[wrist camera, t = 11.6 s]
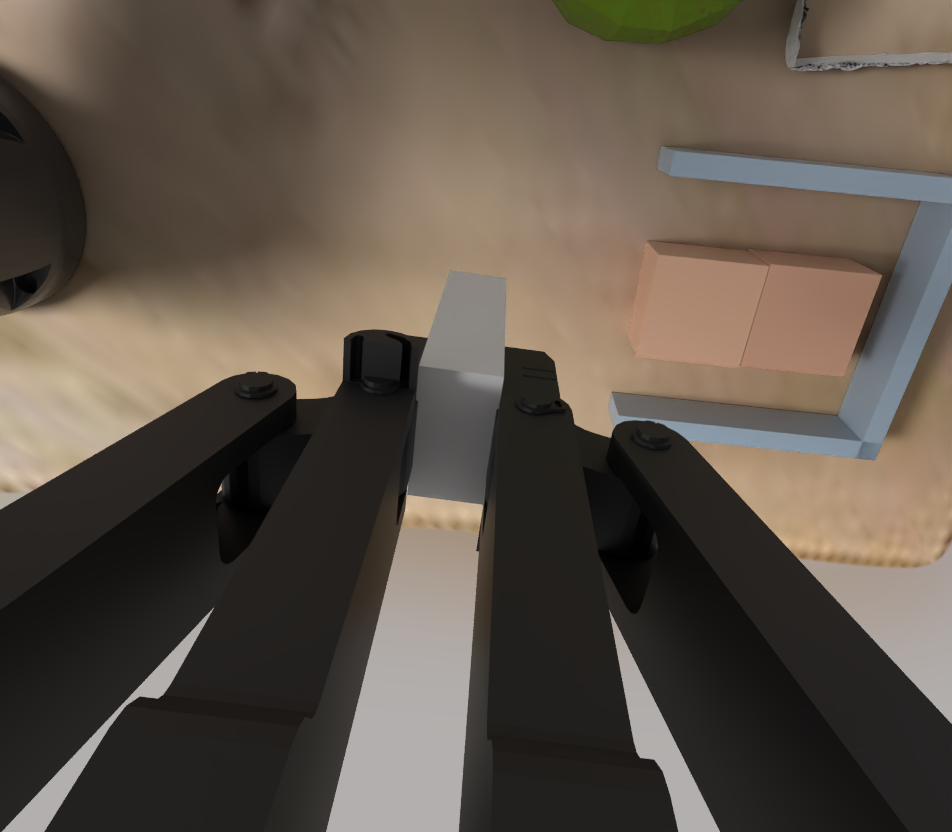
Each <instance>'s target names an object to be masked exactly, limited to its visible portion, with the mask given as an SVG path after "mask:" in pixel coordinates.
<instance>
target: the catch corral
mask: <svg viewBox="0 0 952 832" xmlns="http://www.w3.org/2000/svg"><path fill="white" fill-rule="evenodd" d="M657 169H658V170H660V171H661V172H663V173H665V174H667V175H669V176H676V177H686V178H696V179H706V180H716V181H726V182H736V183H746V184H756V185H766V186H777V187H787V188H797V189H807V190H817V191H827V192H837V193H847V194H857V195H867V196H877V197H887V198H898V199H908V200H918V201H920V204H919V206H918V209H917V212H916V214H915V217H914V219H913V222H912V224H911V227H910V230H909V232H908V235H907V237H906V240H905V242H904V245H903V248H902V250H901V253H900V255H899V258H898V261H897V263H896V266H895V268H894V271H893V273H892V276H891V279H890V281H889V284H888V286H887V289H886V292H885V294H884V297H883V299H882V302H881V304H880V307H879V310H878V312H877V315H876V317H875V320H874V323H873V325H872V328H871V330H870V333H869V335H868V338H867V341H866V343H865V346H864V348H863V351H862V354H861V356H860V359H859V361H858V364H857V366H856V369H855V372H854V374H853V377H852V379H851V382H850V385H849V387H848V390H847V392H846V395H845V397H844V400H843V403H842V405H841V408H840V410H839V413H838V416H834V415H824V414H815V413H805V412H796V411H787V410H777V409H768V408H758V407H749V406H739V405H730V404H720V403H711V402H701V401H692V400H682V399H673V398H663V397H654V396H644V395H635V394H625V393H616V392H611V397H610V402H609V407H608V409H609V413H610V416H611V420H612V424H613V427H614V428H615V426H616V425H617V424H619V423H621V422H623V421H632V420H639V421H646V420H649V421H654V422H655V423H656V424H657V422H658V423H661V424H664V425H665V426H666V427H668V428H670V429H672V430H674V431H676V432H678V433H679V434H680V435H682V436H683V437H684V438H685V439H687V440H689V441H699V442H708V443H718V444H727V445H736V446H746V447H755V448H764V449H774V450H783V451H793V452H802V453H811V454H821V455H830V456H839V457H849V458H858V459H868V460H875V459H876V457H877V454H878V452H879V450H880V448H881V445H882V443H883V441H884V438H885V436H886V434H887V431H888V429H889V427H890V424H891V422H892V420H893V418H894V415H895V413H896V411H897V408H898V406H899V404H900V401H901V399H902V397H903V394H904V392H905V390H906V387H907V385H908V383H909V381H910V378H911V376H912V374H913V371H914V369H915V367H916V364H917V362H918V360H919V357H920V355H921V353H922V350H923V348H924V346H925V344H926V341H927V339H928V337H929V334H930V332H931V330H932V327H933V325H934V323H935V320H936V318H937V316H938V314H939V311H940V309H941V307H942V304H943V302H944V300H945V297H946V295H947V293H948V290H949V288H950V286H951V283H952V175H950V174H940V173H930V172H920V171H910V170H899V169H889V168H879V167H869V166H859V165H849V164H838V163H828V162H818V161H808V160H798V159H788V158H777V157H767V156H757V155H747V154H737V153H727V152H716V151H706V150H696V149H686V148H676V147H666V146H661V150H660V154H659V159H658V164H657Z"/></svg>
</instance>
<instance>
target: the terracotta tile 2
mask: <svg viewBox="0 0 952 832" xmlns="http://www.w3.org/2000/svg"><path fill="white" fill-rule="evenodd" d="M748 252H750V253H751V254H753V255H754V256H755V257H757V258H758V259H760V260H761V261H763V262H764V263H766V264H767V265H769V269H768V272H767V276H766V279H765V283H764V286H763V289H762V293H761V296H760V299H759V303H758V306H757V309H756V313H755V316H754V319H753V323H752V326H751V330H750V333H749V336H748V340H747V343H746V346H745V350H744V353H743V356H742V360H741V363H740V367H750V368H760V369H769V370H779V371H789V372H799V373H808V374H818V375H828V376H838V377H844V375H845V372H846V369H847V367H848V364H849V361H850V359H851V356H852V354H853V351H854V348H855V346H856V343H857V340H858V338H859V335H860V333H861V330H862V327H863V325H864V322H865V319H866V317H867V314H868V312H869V309H870V306H871V304H872V301H873V298H874V296H875V293H876V291H877V288H878V285H879V283H880V280H881V277H882V275H881V274H879V273H877V272H875V271H873V270H871V269H869V268H867V267H865V266H863V265H861V264H859V263H857V262H855V261H853V260H851V259H845V258H835V257H825V256H815V255H805V254H795V253H785V252H775V251H765V250H755V249H748Z"/></svg>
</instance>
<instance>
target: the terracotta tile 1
mask: <svg viewBox="0 0 952 832" xmlns="http://www.w3.org/2000/svg"><path fill="white" fill-rule="evenodd" d="M768 269H769V265H767V264H766V263H764V262H763V261H761V260H760V259H758V258H757V257H755V256H754V255H753V254H751V253H750V252H748V251H743V250H733V249H724V248H714V247H704V246H694V245H685V244H675V243H665V242H655V241H646V246H645V251H644V256H643V260H642V265H641V270H640V275H639V280H638V285H637V289H636V294H635V299H634V304H633V309H632V314H631V318H630V323H629V328H628V333H627V337H628V339H629V341H630V344H631V346H632V348H633V351H634V353H635V355H636V357H638V358H648V359H657V360H667V361H676V362H685V363H695V364H704V365H713V366H723V367H732V368H739V367H740V363H741V360H742V356H743V353H744V350H745V346H746V343H747V340H748V336H749V333H750V330H751V326H752V323H753V319H754V316H755V313H756V309H757V306H758V303H759V299H760V296H761V293H762V289H763V286H764V283H765V279H766V276H767V272H768Z"/></svg>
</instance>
